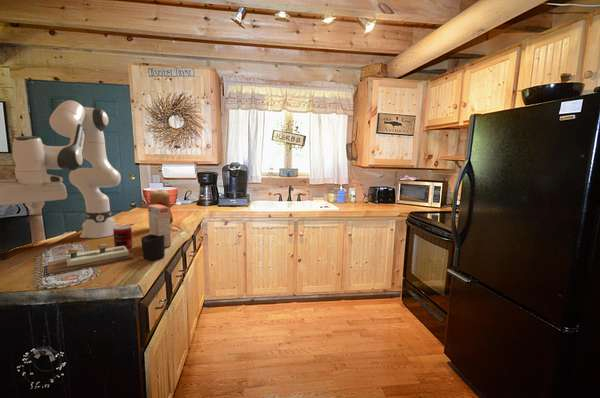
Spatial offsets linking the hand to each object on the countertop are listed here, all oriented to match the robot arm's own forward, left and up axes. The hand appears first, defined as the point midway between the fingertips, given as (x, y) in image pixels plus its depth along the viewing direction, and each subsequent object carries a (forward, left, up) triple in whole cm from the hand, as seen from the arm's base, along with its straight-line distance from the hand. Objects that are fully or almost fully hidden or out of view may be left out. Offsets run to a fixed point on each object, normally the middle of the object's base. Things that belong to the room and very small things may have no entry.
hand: (36, 213), depth 109 cm
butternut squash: (-40, +56, -23) cm, 73 cm away
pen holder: (+14, +38, -23) cm, 47 cm away
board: (+3, +16, -23) cm, 28 cm away
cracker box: (-5, +46, -23) cm, 52 cm away
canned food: (-10, +30, -23) cm, 39 cm away
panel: (+3, +18, -22) cm, 28 cm away
